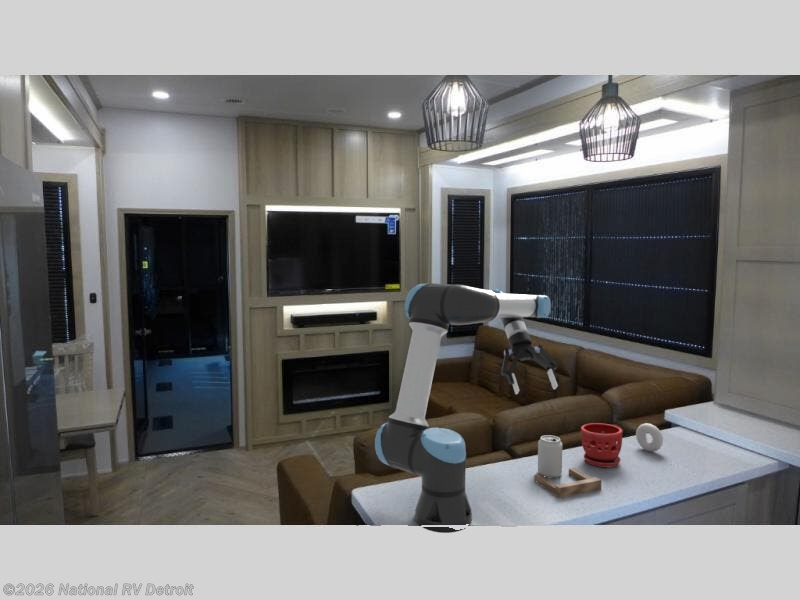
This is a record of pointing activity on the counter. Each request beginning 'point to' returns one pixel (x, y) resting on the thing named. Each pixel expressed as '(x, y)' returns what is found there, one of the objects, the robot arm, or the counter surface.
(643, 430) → the donut
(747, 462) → the counter surface
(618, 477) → the counter surface
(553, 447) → the can
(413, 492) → the counter surface
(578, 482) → the walnut frame
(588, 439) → the plant pot
